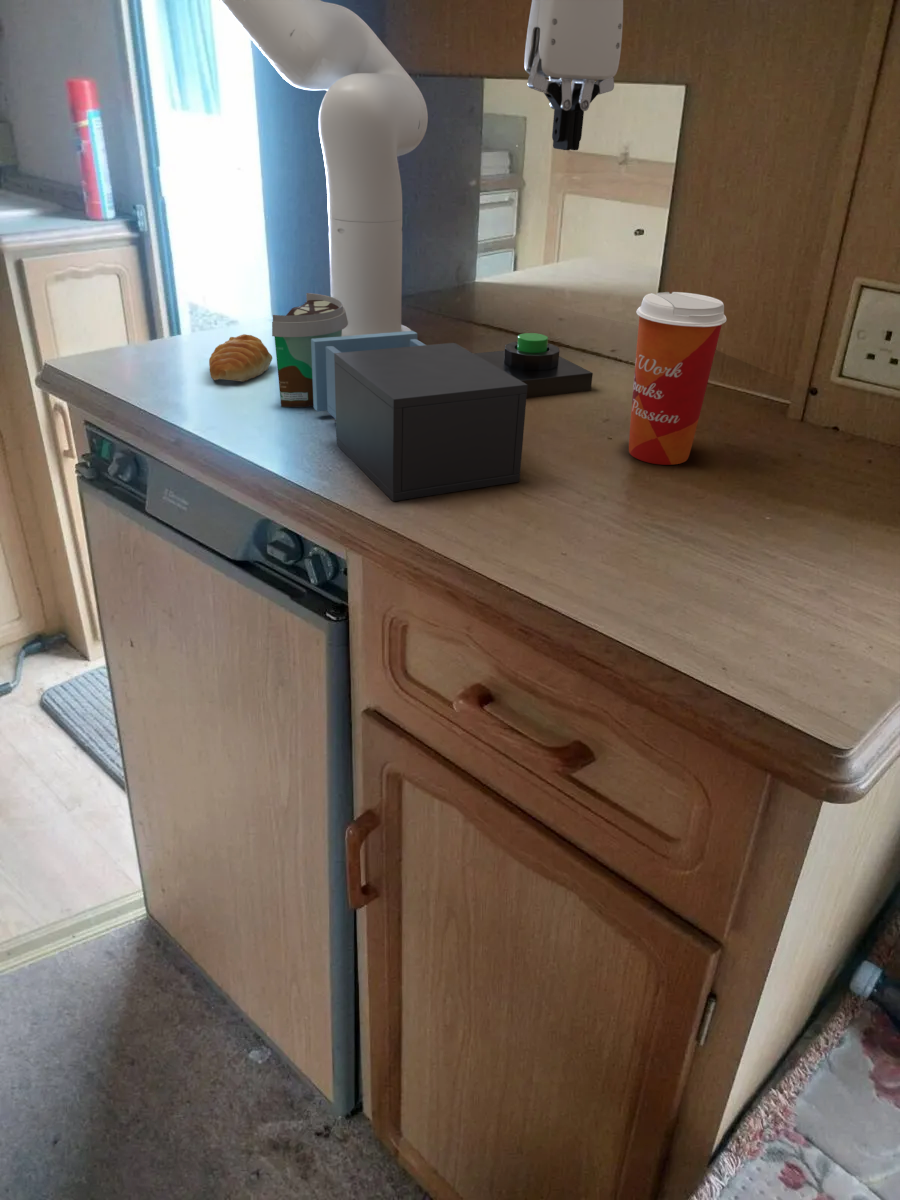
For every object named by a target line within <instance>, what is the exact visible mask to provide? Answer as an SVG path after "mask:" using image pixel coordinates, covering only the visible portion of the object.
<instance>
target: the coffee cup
mask: <svg viewBox="0 0 900 1200" xmlns="http://www.w3.org/2000/svg"><path fill="white" fill-rule="evenodd" d="M635 313H636V315H637V316H638V329H637V337H636V339H637V340H636V349H635V350H636V351H635V352H636V353H635V361H634V362H635V363H634V375H633V387H632V399H631V409H630V421H629V422H630V423H629V436H628V437H629V438H628V453H629V454H630V456H631V457H633V458H635V459H637V460H638V461H641V462H644V463H649V464H652V465H653V464H654V465H663V466H671V465H674V466H675V465H678V464H679V465H680V464H682V463H683V464H684V463H685V462H687V461H688V459H689V457H690V454H691V450H692V446H693V444H694V440H695V435H696V431H697V428H698V423H699V420H700V416H701V412H702V408H703V404H704V399H705V396H706V391H707V387H708V384H709V379H710V376H711V375H710V374H711V371H712V367H713V362H714V358H715V354H716V350H717V346H718V343H719V337H720V333H721V330H722V325H723V324H725V323H726V322H727V321H728V320H727V316H726V315H725V305H724V302H723V301H722V300H721V299H718V298H716V297H712V296H709V295H704V294H699V293H691V292H681V291H672V292H671V293H670V292H669V291H665V292H663V291H662V292H656V293H654V292H651V293H647V294H645V295H644V297H642V301H641V303H640V306H639V307H638V308H637V309H636V312H635Z"/></svg>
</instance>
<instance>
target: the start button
mask: <svg viewBox="0 0 900 1200" xmlns="http://www.w3.org/2000/svg"><path fill="white" fill-rule="evenodd" d="M516 342H517V350H519V351H523V352H529V353H541V352H547V345H548V344H549V336H547V335H545V334H543V333H536V332H524V333H520V334H518V335H517V341H516Z"/></svg>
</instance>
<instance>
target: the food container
mask: <svg viewBox="0 0 900 1200" xmlns="http://www.w3.org/2000/svg"><path fill="white" fill-rule="evenodd" d="M347 325H348V320H347V316H346V312H345V309H344V307H343V305H342V302H341V301H340V300H338V299H336V298H333V297H331V295H325V294H320V293H311V292H306V302H304V303H303V304H301V305H300V306H295V307H292V308H291V309H290V310H288V312H287V313H286V315H285V314H284V315H283V314H282V315H281V314H272V322H271V336H272V337H274V346H275V356H276V367H277V376H278V387H279V388H278V389H279V397H280V398H279V399H280V407H282V408H308V407H314V404H313V379H312V353H311V339H315V338H328V337H341V336H342V329H344V328H345V327H347Z"/></svg>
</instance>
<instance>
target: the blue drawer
mask: <svg viewBox="0 0 900 1200" xmlns="http://www.w3.org/2000/svg"><path fill="white" fill-rule="evenodd" d="M423 345H426V344H425V343H424V342H422V341H420V340H419V339H418V332H416V331H414V330H411V331H404V332H391V333H378V334H366V335H353V336H341V337H328V338H315V339H311V353H312V379H313V404H314V406H313V409H314V410H315V411H316V412H323V411H327V413H328V414H329V415H330V416H331V417H333V418H334V420H336V400H335V361H334V353H342V352H353V351H365V350H376V349H388V348H399V347H411V346H423Z"/></svg>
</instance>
